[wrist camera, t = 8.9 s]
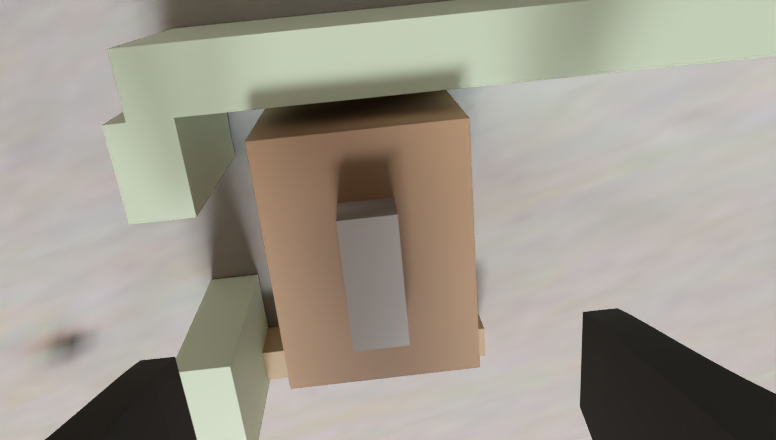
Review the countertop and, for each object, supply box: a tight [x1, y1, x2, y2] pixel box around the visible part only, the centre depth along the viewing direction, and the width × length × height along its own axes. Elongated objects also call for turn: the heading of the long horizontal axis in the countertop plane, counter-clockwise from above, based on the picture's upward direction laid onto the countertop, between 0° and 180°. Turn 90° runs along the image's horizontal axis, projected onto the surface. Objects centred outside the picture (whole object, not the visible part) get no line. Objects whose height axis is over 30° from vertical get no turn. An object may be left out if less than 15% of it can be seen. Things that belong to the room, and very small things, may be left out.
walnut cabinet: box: [245, 90, 480, 389], centre depth 16 cm, size 4×6×7 cm
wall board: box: [102, 0, 776, 440], centre depth 17 cm, size 20×11×5 cm, turn 95°
